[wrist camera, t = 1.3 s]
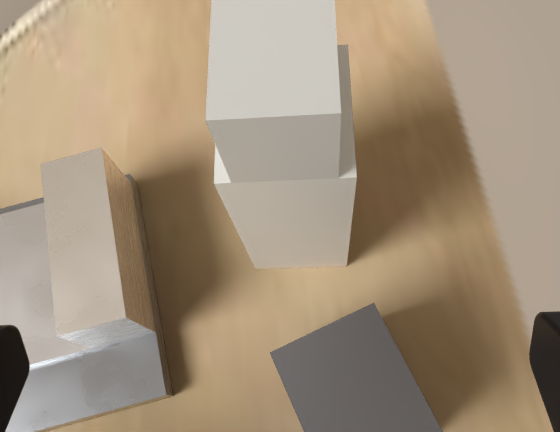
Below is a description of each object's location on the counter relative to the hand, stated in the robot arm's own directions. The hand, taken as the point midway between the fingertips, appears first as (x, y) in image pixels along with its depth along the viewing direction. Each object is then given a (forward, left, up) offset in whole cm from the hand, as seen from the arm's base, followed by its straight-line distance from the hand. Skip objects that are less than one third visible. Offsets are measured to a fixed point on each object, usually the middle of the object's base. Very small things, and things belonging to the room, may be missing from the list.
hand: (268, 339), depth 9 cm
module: (+7, -2, -13) cm, 15 cm away
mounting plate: (+6, +12, -13) cm, 19 cm away
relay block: (-1, -2, -13) cm, 13 cm away
